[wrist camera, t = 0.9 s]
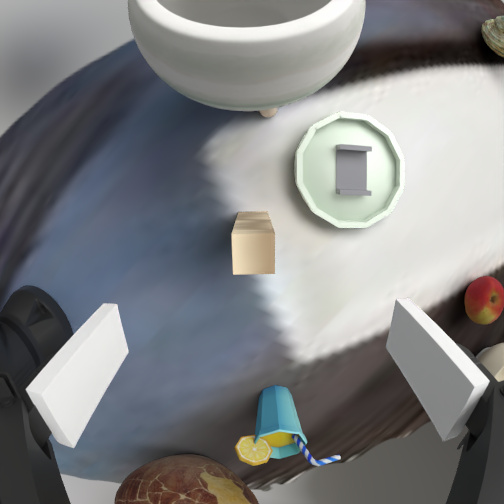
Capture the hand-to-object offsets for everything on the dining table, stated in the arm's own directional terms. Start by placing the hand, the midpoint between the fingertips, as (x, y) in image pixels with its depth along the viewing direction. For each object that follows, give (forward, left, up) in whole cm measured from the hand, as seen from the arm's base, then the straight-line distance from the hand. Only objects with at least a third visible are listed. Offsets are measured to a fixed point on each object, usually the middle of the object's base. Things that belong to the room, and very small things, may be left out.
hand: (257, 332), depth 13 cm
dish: (+12, +7, -24) cm, 28 cm away
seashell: (+44, +34, -24) cm, 61 cm away
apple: (+37, -11, -24) cm, 45 cm away
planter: (0, +19, -24) cm, 31 cm away
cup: (+4, -28, -24) cm, 37 cm away
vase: (-13, -50, -24) cm, 57 cm away
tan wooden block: (0, 0, -24) cm, 24 cm away
